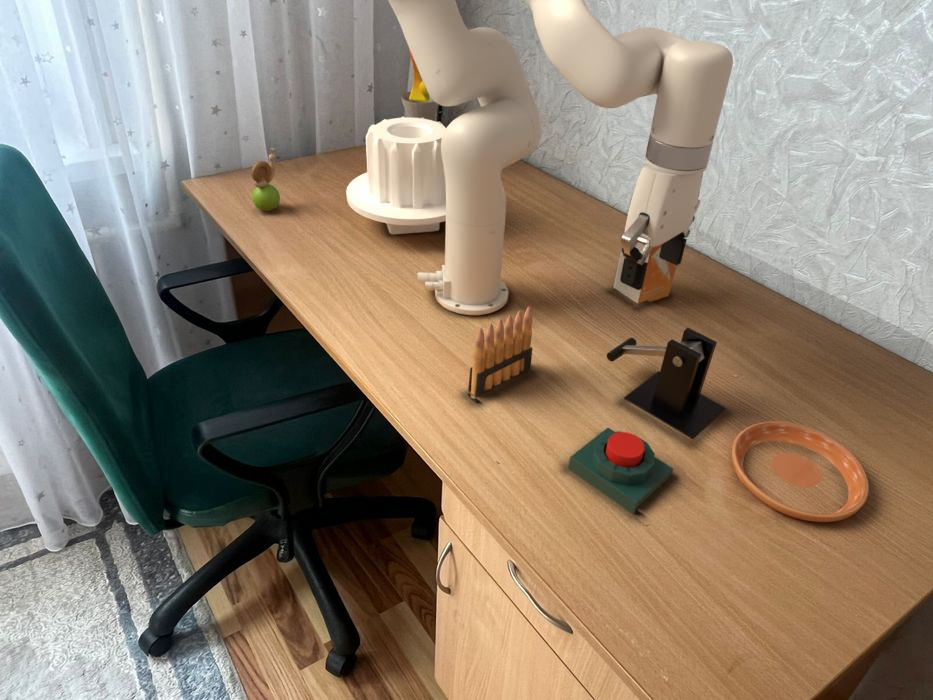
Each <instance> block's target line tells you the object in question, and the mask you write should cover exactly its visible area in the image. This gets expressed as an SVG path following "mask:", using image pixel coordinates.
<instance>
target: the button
mask: <svg viewBox="0 0 933 700" xmlns="http://www.w3.org/2000/svg"><path fill="white" fill-rule="evenodd" d="M635 435H636V434H634V435H633V433H630V432H625V431H620V432H618V433H615V434H613V435H611V436H610V437H609V439H608V443H607V448H606V456H607V458H608V459H609V460H610V461H611V462H612V463H614V464H615V465H617V466H621V467H626V468H631V467H635V466H637V465H638V464H639V463H640V462H641V460H642V456H643V453H644V444H643V442H642V441H641V439H642V438H641V439H639V438H640V437H639V436H638V437H639V438H638V437H637V435H636V436H635Z"/></svg>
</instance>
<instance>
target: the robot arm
mask: <svg viewBox="0 0 933 700" xmlns="http://www.w3.org/2000/svg"><path fill="white" fill-rule="evenodd" d="M523 1H524V2H525V3H526V4H527V6H528V7H529V8H530V10H531V12H532V16H533V18H532V19H533V23H534V27H535V30H536V33H537V36H538V39H539V41H540V44H541V47H542V49H543V51H544V53H545V55H546V57H547V59H548V60H549V61H550V63H551V64H552V65H553V66H554V68H555V69H556V70H557V71H558V72H559V74H561V75H562V77H563V78H564V79H565V80H566V81H567V82H568V83H569V84H570V86H572V87H573V89H575V91H577V93H578V94H580V95H581V96H582V97H583V98H584V99H586V100H587V101H589V102H590V103H591V104H593V105H595V106H598V107H600V108H604V109H615V108H620V107H623V106H626V105H628V104H630V103H632V102H634V101H636V100H637V99H640V98H644V97H648V96H653V95H656V100H655V106H654V109H653V110H654V111H653V115H652V121H651V127H650V130H649V131H650V132H649V136H648V141H647V146H646V151H645V156H644V164H643V165H642V167H641V171H640V173H639V175H638V178H637V181H636V183H635V187H634V190H633V193H632V197H631V200H630V201H631V202H630V205H629V209H628V213H627V217H626V222H625V227H624V233H625V234H624V233H623V235H622V236H621V238H620V241H621V248H622V253H623V257H624V262H623V267H622V272H621V277H620V281H621V282H622V283H624V284H626V285H628V286H630V287H632V288H634V289H637V290H640V289H642V287H643V283H644V278H645V274H646V269H647V265H648V263H646V262H645V261H646V259H647V257H648V255H649V254H650V252H651V250H652V248H653V247H656V246H659V245H661V244H662V246H661V250H660V254H659V257H660V258H661V259H663V260H666V261H668V262H670V263H673V264H675V265H677V266H679V265H680V264H681V263H682V261H683V260H682V259H683V256H684V252H685V249H686V245H687V241H688V239H687V238H688V237H689V235H690V234H691V229H690V227H691V225H692V224H693V222H694V221H695V219H696V216H695V215H696V213H697V211H698V208H699V206H700V204H701V200H700V199H699V197H700V192H701V188H702V184H703V183H702V182H703V175H704V172H705V171H706V170H707V167H708V164H709V160H710V156H711V152H712V149H713V144H714V140H715V137H716V132H717V129H718V124H719V120H720V116H721V113H722V109H723V106H724V101H725V97H726V93H727V89H728V87H729V82H730V79H731V74H732V69H733V65H734V57H733V56H734V55H733V54H732V51H731V50H730V49H729V48H728V47H726V46H724V45H722V44H719V43H716V42H712V41H711V42H710V41H705V40H690V39H686V38H684V37H681V36H678V35H676V34H673V33H671V32H669V31H665V30H663V29H660V28H656V27H640V28H636V29H634V30H630V31H627V32H623V33H619V34H617V35H613V34H612V33H611V32H610V31H609V29H607V28H606V26H604V25H603V23H601V22H600V21H599V19H598V18H597V17H596V16H595V15H594V13H593V12H592V11H591V10H590V8H589V7H588V6H587V5H586V3H585V1H584V0H523ZM387 2H388V3H389V5H390V7H391V9H392V11H393V13H394V15H395V16H396V18H397V21H398V24H399V25H400V28H401V31H402V33H403V36H404V39H405V41H406V44H407V46H408V48H409V50H410V51H411V53H412V56H413V58H414V61H415V63H416V66H417V68H418V71H419V73H420V75H421V78H422V80H423V83H424V85H425V87H426V89H427V91H428V93H429V95H430V96H431V98H432V99H433V100H434V101H435V102H436V103H438V105H439V106H442V107H456V106H459V105H463V104H465V103H468V102H472V101H474V100H477V101H478V103H479V107H477V108H475V109H472V110H469V111H467V112H464V113H462V114H460V115H459V116H457V117H456V118H454V119H453V120H452V121H450V123H449V124H448V125H447V126H446V127H445V128H446V129H445V131H444V133H443V136H442V140H441V155H442V161H443V166H444V172H445V180H446V221H445V242H444V264H442V265H441V270H436V271H435V272H429V271H428V272H427V271H426V272H423V271H422V272H417V284H418V285H419V284H420V285H422V284H423V285H424V290H425V291H433V290H434V296H435V299H436V301H437V303H439V304H440V305H441V306H442V307H443V308H445V309H446V310H448V311H450V312H453V313H456V314H460V315H463V316H464V315H465V316H467V315H468V316H482V315H487V314H488V315H489V314H493V313H494V312H496V311H498V310H500V309H502V308H503V307H504V306H505V305H506V304H507V303H508V300H509V289H508V287H507V285H506V284H505V282H504V281H502V280H501V276H502V268H503V267H502V265H503V253H504V242H505V241H504V239H505V228H506V215H507V195H506V194H507V193H506V190H505V187H504V184H503V181H502V177H501V174H502V171H503V170H504V169H506V168H508V167H509V166H511V165H513V164H514V163H517V162H519V161H520V160H523V159H525V158H526V157H528V156H530V155H531V154H533V152H534V151H535V150H536V149H537V147H538V146H539V145H540V141H541V138H542V121H541V117H540V113H539V110H538V107H537V105H536V102H535V99H534V97H533V93H532V90H531V87H530V85H529V83H528V79H527V77H526V74H525V72H524V69H523V67H522V64H521V61H520V59H519V56H518V54H517V51H516V50H515V47H514V46H513V44H512V42H511V41H510V40H509V39H508V37H506V35H504V33H502V32H500V31H499V30H497V29H495V28H492V27H488V26H487V27H486V26H481V27H474V28H471V29H468V27H467V26H466V24H465V21H463V18H462V15H461V13H460V10H459V7H458V4H457V1H456V0H387ZM642 233H643V234H645V235H647V236H649V238H651V239H650V240H648V239H645V238H643V237H640V235H641V234H642ZM638 242H639V243H641V244H643V245H645V247H644V249H643V251H642V252H641V253H640V251H639V250H638V248H636V247H635V246H636V245H637V243H638Z"/></svg>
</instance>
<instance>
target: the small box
mask: <svg viewBox="0 0 933 700" xmlns="http://www.w3.org/2000/svg"><path fill="white" fill-rule="evenodd" d="M624 234H625V232H624V233H623V235H624ZM640 237H643V238H645V239H648V240H650V239H651V238H649V236H647V235H645V234H643V233H642V234H641V235H640ZM661 246H662V244H661V245H659V246H656V247H653V248H652V250H651V252H650V254H649V255H648V257H647V259H646V261H645V262H646V263H648V265H647V269H646V274H645V278H644V283H643V287H642V289H640V290H637V289H634V288H632V287H630V286H628V285H626V284H624V283H622V282H621V281H620V277H621V272H622V267H623V262H624V257H623V253H622V247H621V249H620V253H619V257H618V258H619V259H618V262H617V268H616V273H615V276H614V277H615V278H614V281H613V282H614V283H613V289H615V290H616V291H619V292H620V293H621V294H622V295H624V296H626V298H629V299H630V300H631V301H632V302H635V303H636V304H638V305H639V304H640V303H641V304H642V303H644V302H646V301H648V302H650V303H652V302H656V301H659V300H661V299H664V298H667V297H669V295H670V292H671V288H672V285H673V280H674V277H675V274H676V270H677V266H678V265H675V264H673V263H670V262H668V261H666V260H663V259H661V258H660V257H659V254H660V250H661ZM635 247H636V248H638V250H639V251H640V253H641V252H642V251H643V249H644V247H645V245H643V244H641V243H639V242H638V243H637V245H636V246H635Z"/></svg>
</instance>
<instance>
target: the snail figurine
mask: <svg viewBox="0 0 933 700" xmlns="http://www.w3.org/2000/svg"><path fill="white" fill-rule="evenodd" d="M269 150H270V151H271V152H273V153H270V154H269V155H268V161H269V162H267V161H264V160H258V161H257V162H255V163H254V164H253V165H252V168H251V178H252V179H253V181H254V183H253V185H254V186H255V187H254V189H253V191H252V195H251V199H252V202H253V204H254V206H255V207H256V208H257V209H259V210H261V211H264V212H269V211H273V210H275V209H276V208H278V206H279V204H280V201H281V195H280V192H279V190H278V189H277V188H276V187H275V186H274V185H272V184H270V183H271V182H272V181H273V179H274V177H275V172H276V155H275V151H276V148H274V147H269Z"/></svg>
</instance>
